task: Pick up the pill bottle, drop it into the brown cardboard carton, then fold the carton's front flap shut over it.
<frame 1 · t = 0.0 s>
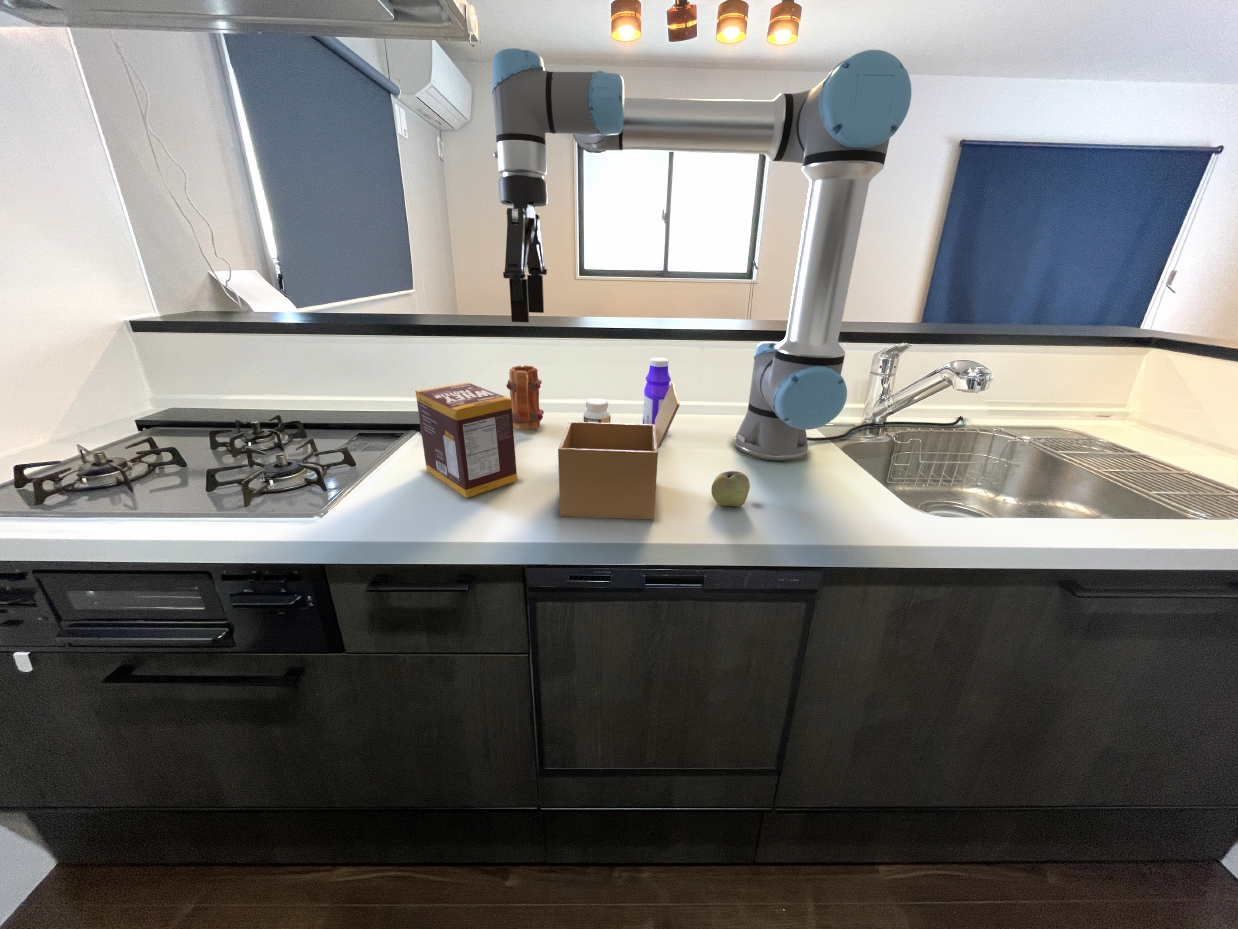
hand: (529, 317, 86), 28 cm above the worktop, tool pointing down, fingers open, 13 cm apart
bottle: (655, 434, 115), on the worktop
supplement box: (471, 477, 91), on the worktop
carton: (608, 499, 84), on the worktop
flap: (666, 413, 78), point 16 cm above the worktop, hinge at 110.0°
mug: (525, 432, 114), on the worktop
pill bottle: (596, 446, 107), on the worktop
apple: (732, 504, 84), on the worktop
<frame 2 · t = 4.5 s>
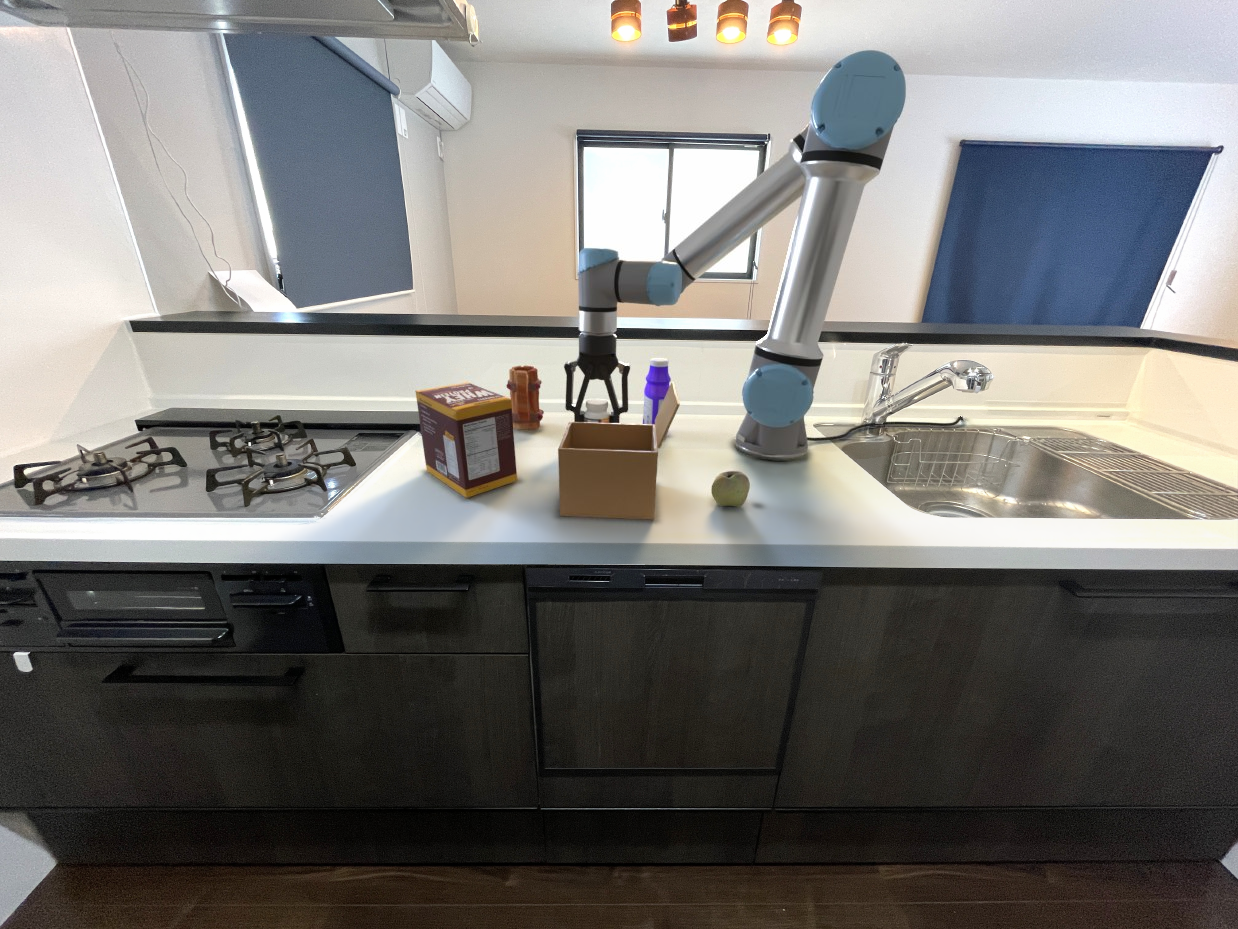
hand: (596, 441, 107), 1 cm above the worktop, tool pointing down, fingers closed on pill bottle, 6 cm apart
pill bottle: (596, 446, 107), on the worktop, touching gripper
everything else where it was.
when the fingers open (9 cm above the worktop, at t = 11.0 s): pill bottle drops 8 cm, resting on carton.
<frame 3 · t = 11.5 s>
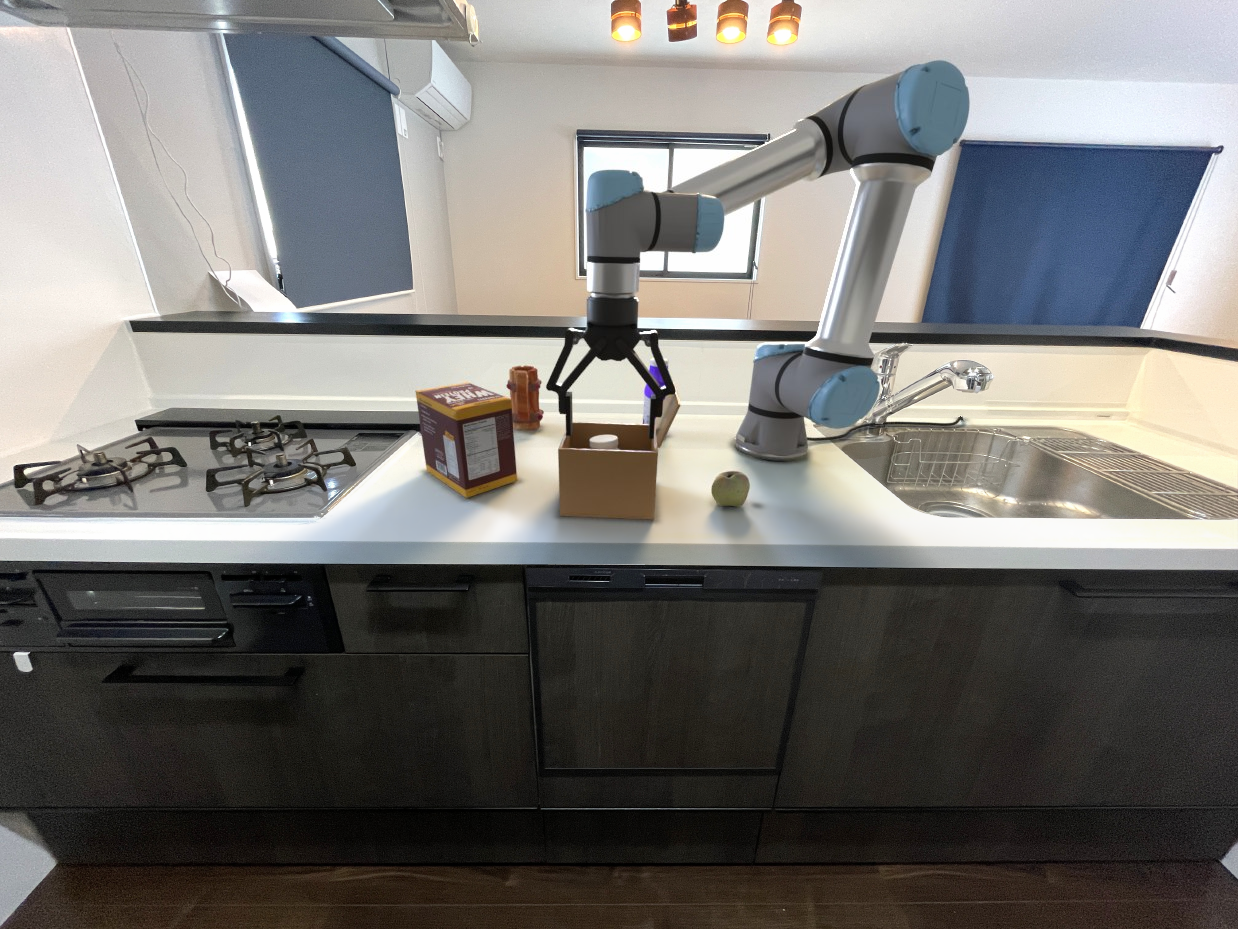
hand: (610, 434, 80), 12 cm above the worktop, tool pointing down, fingers open, 13 cm apart
flap: (666, 413, 78), point 16 cm above the worktop, hinge at 111.0°
pill bottle: (608, 495, 84), point 1 cm above the worktop, touching carton
everything else where it was.
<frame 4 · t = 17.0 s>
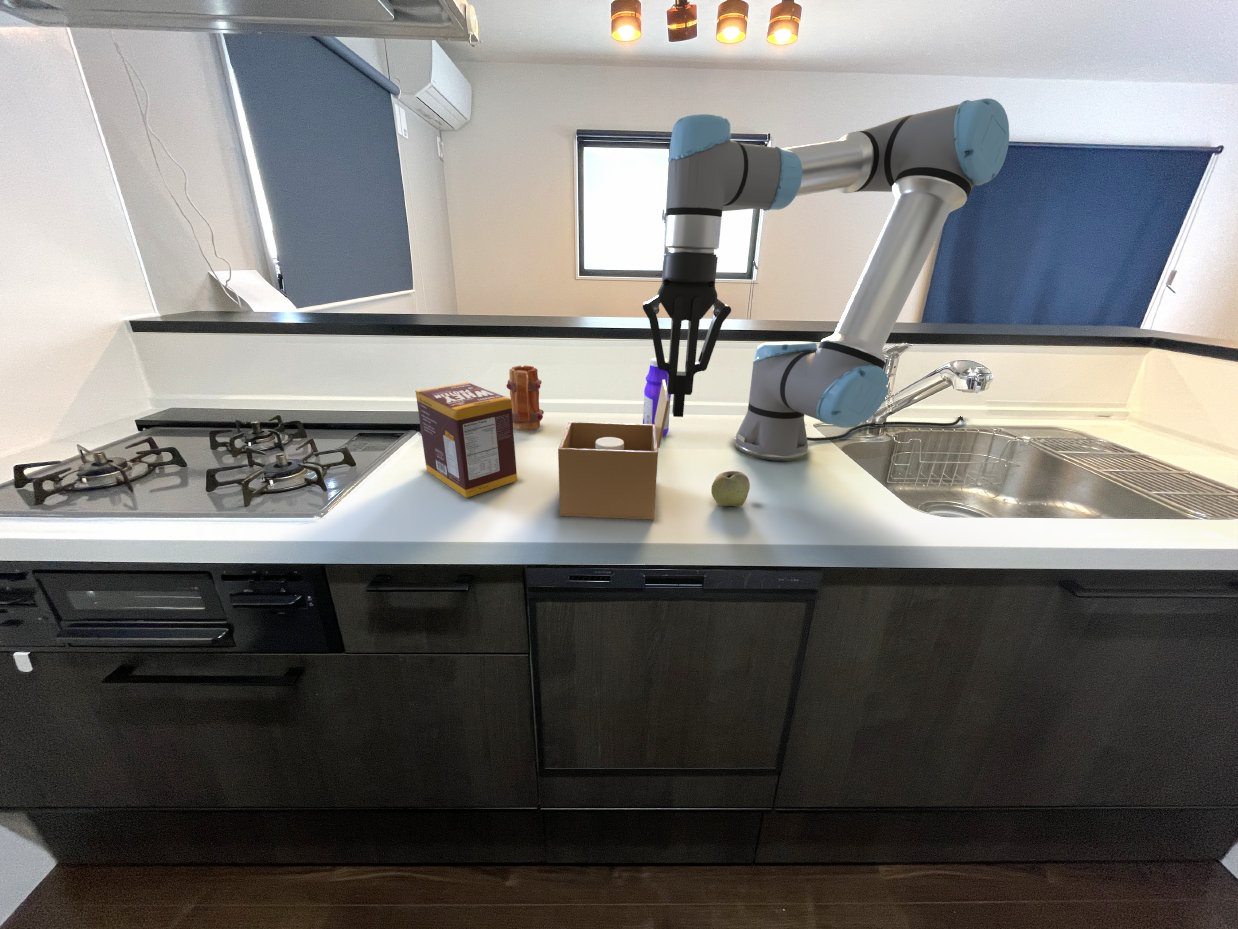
hand: (677, 414, 78), 16 cm above the worktop, tool pointing down, fingers closed
flap: (661, 411, 78), point 16 cm above the worktop, hinge at 97.7°
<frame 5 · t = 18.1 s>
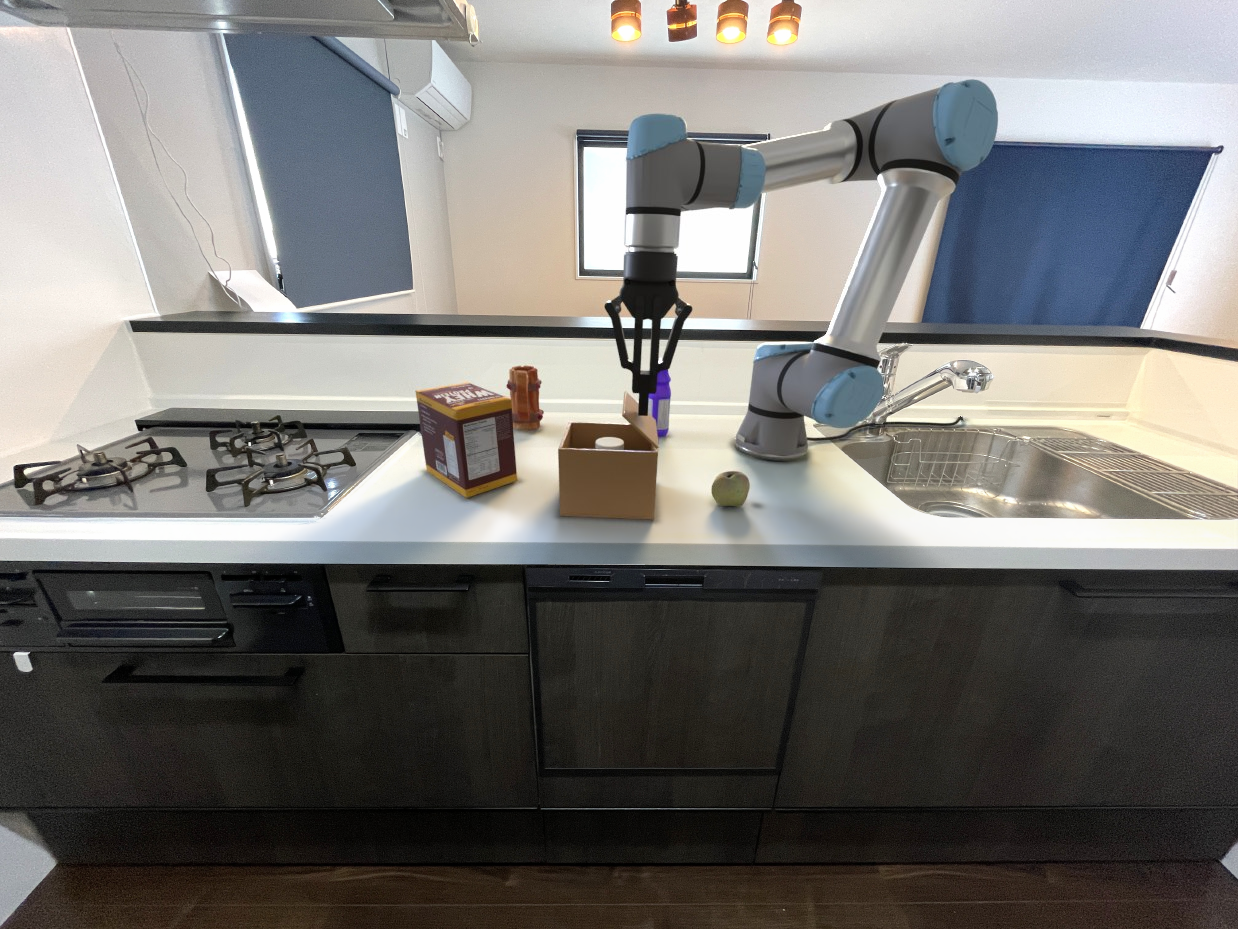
hand: (642, 413, 78), 16 cm above the worktop, tool pointing down, fingers closed
flap: (640, 418, 78), point 15 cm above the worktop, hinge at 42.8°, touching gripper
everything else where it was.
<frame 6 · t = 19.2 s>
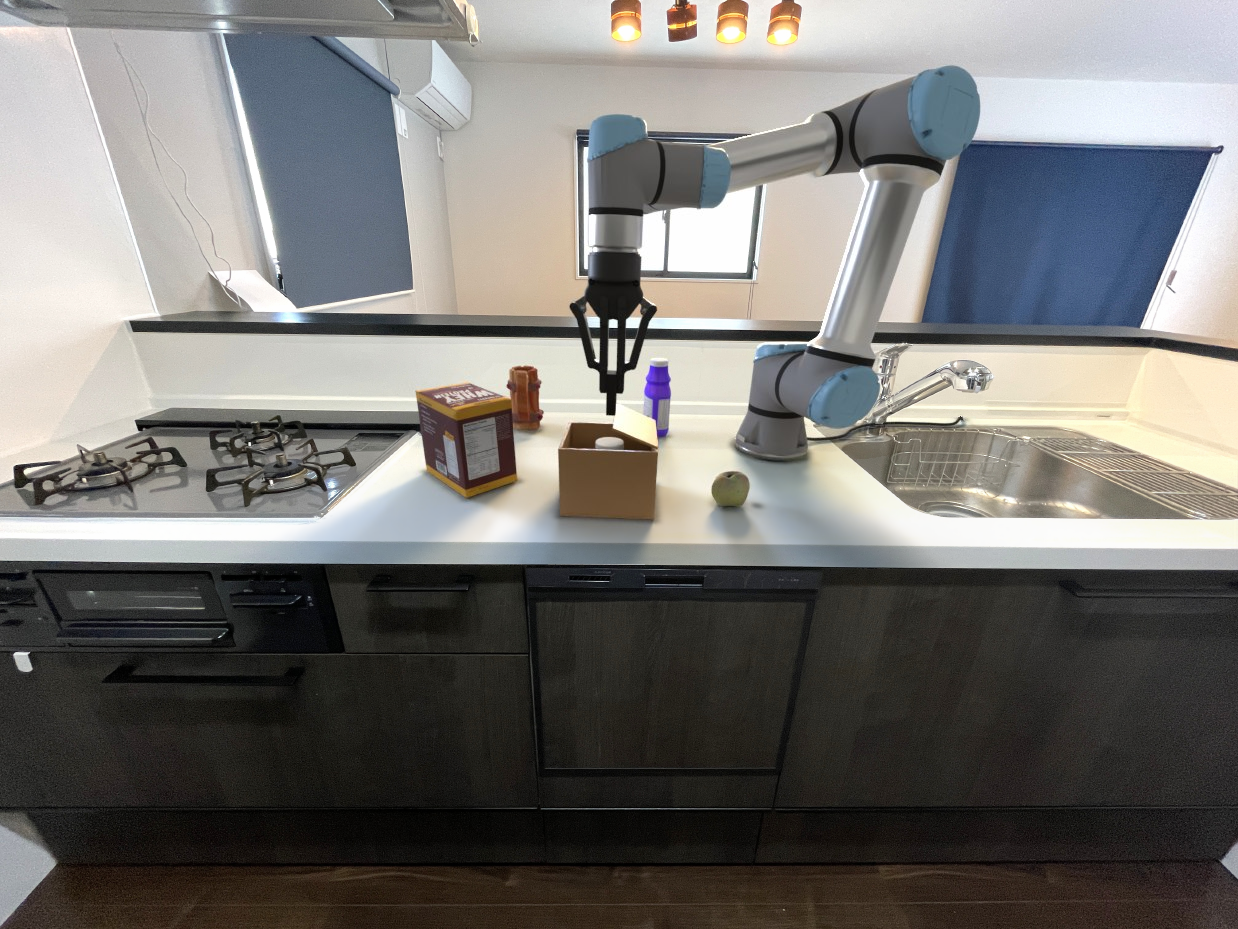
hand: (611, 412, 78), 15 cm above the worktop, tool pointing down, fingers closed
flap: (635, 424, 79), point 14 cm above the worktop, hinge at 22.4°, touching gripper
everything else where it was.
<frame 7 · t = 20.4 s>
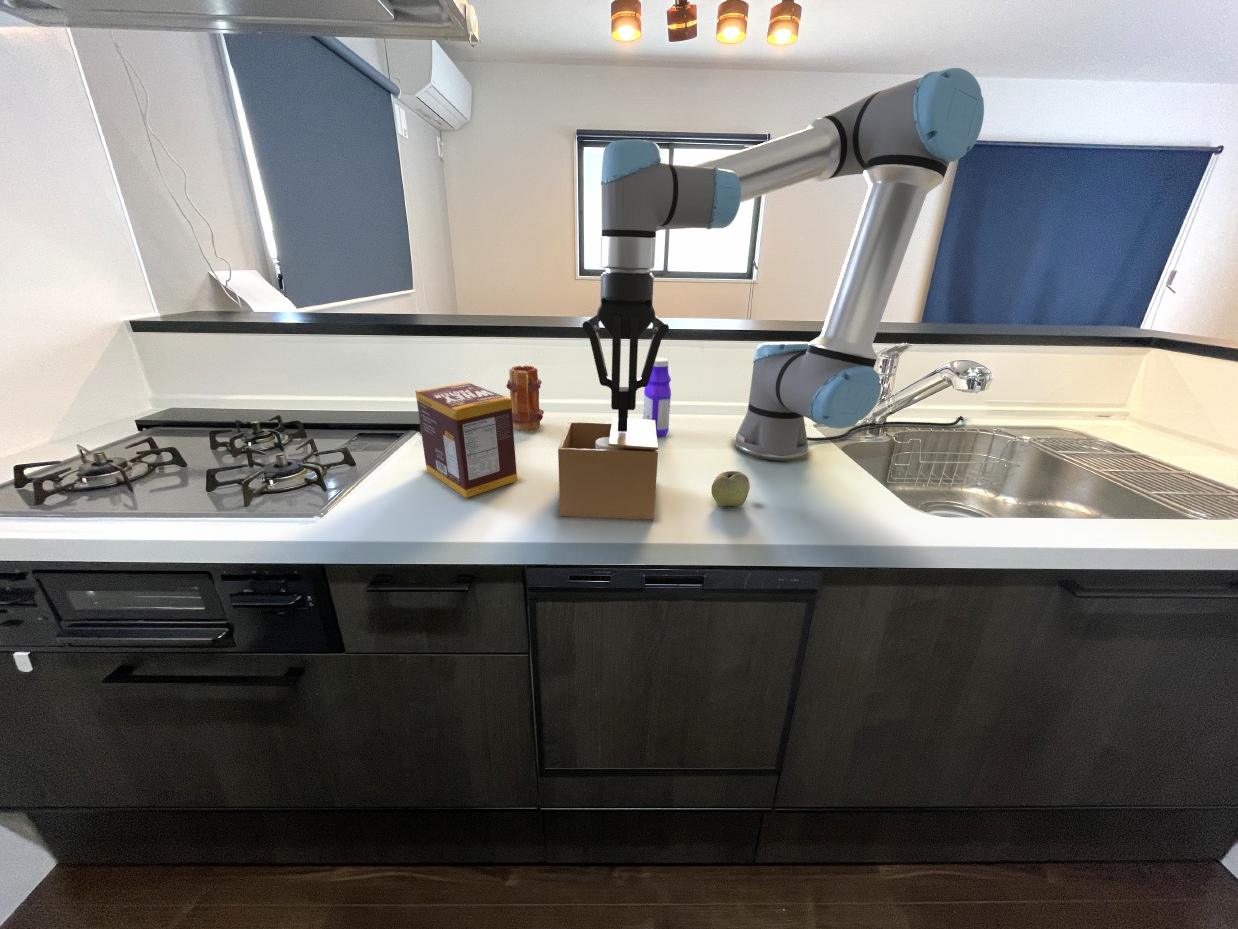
hand: (622, 428, 79), 13 cm above the worktop, tool pointing down, fingers closed
flap: (633, 432, 79), point 12 cm above the worktop, hinge at 2.3°, touching gripper
everything else where it was.
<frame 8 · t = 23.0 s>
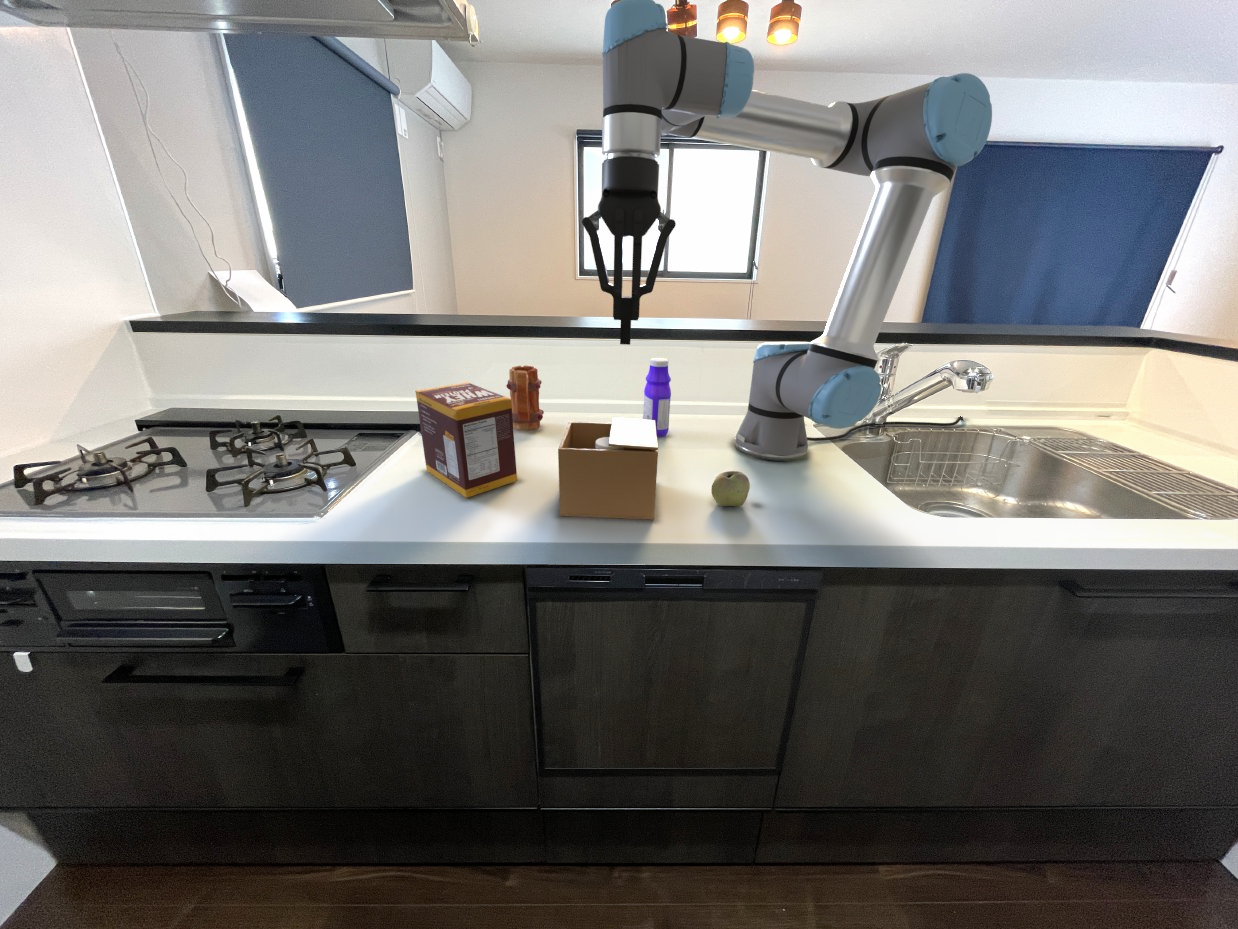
hand: (625, 342, 74), 26 cm above the worktop, tool pointing down, fingers closed
flap: (633, 432, 79), point 12 cm above the worktop, hinge at 2.3°
everything else where it was.
at the end: pill bottle inside the target area in the carton (0.1 cm from its centre), point 0.3 cm above the carton's base; flap at +2° (first picture: +110°) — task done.
